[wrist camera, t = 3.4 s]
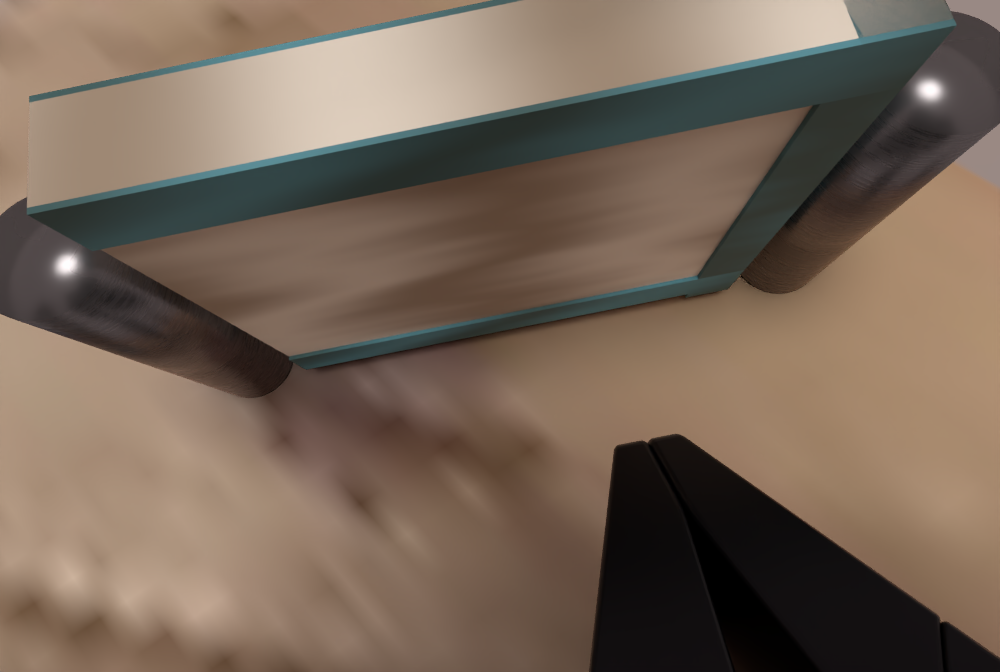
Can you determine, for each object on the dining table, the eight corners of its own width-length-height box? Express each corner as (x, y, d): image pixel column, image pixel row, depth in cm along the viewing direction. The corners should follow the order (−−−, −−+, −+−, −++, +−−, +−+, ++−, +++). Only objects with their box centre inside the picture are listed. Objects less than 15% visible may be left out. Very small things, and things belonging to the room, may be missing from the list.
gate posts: (217, 405, 18) (-28, 332, 10) (211, 327, 19) (-21, 204, 11) (828, 284, 18) (1049, 117, 10) (802, 209, 18) (990, -3, 11)
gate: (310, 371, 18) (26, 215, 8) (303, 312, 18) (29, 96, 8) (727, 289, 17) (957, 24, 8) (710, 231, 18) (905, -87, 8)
